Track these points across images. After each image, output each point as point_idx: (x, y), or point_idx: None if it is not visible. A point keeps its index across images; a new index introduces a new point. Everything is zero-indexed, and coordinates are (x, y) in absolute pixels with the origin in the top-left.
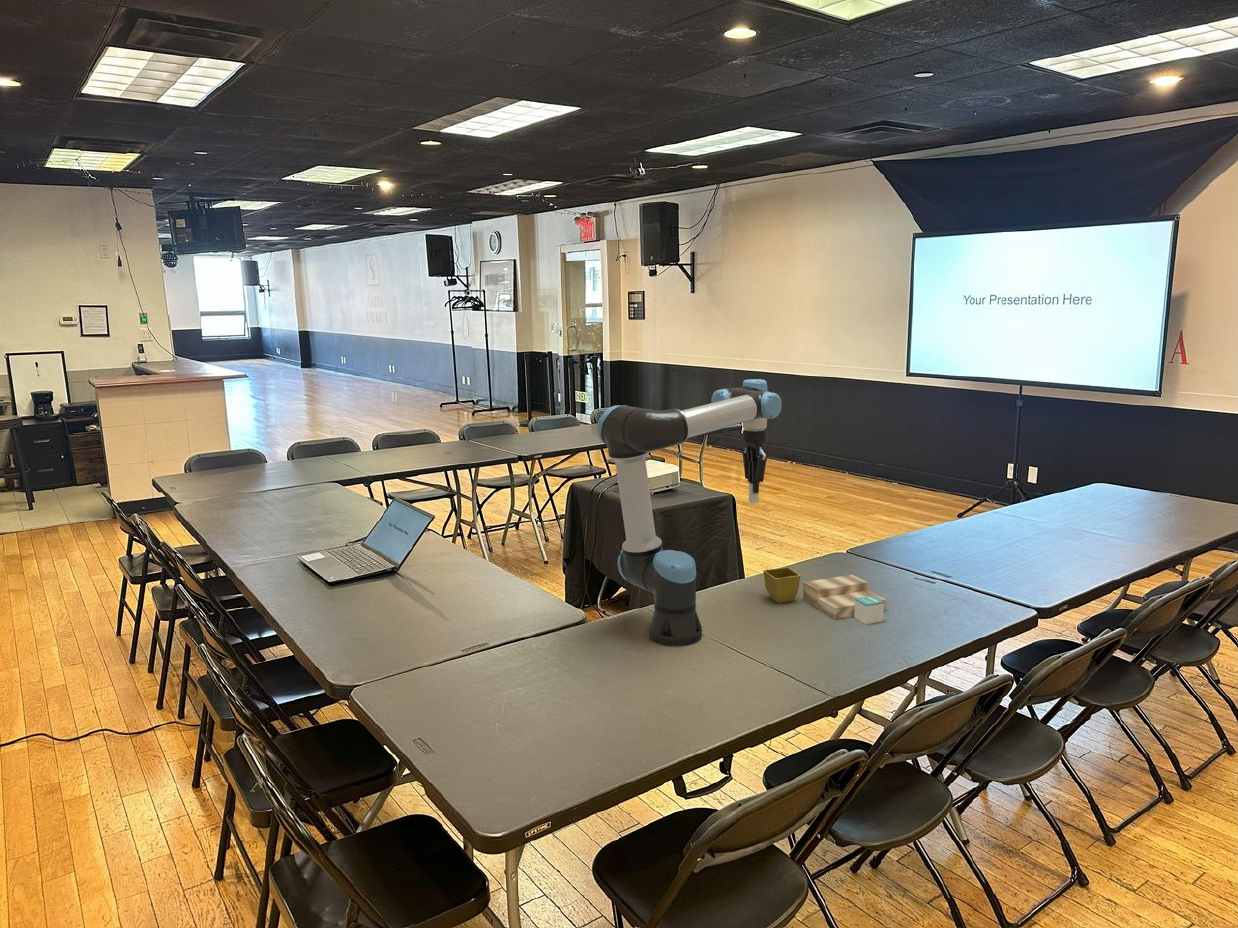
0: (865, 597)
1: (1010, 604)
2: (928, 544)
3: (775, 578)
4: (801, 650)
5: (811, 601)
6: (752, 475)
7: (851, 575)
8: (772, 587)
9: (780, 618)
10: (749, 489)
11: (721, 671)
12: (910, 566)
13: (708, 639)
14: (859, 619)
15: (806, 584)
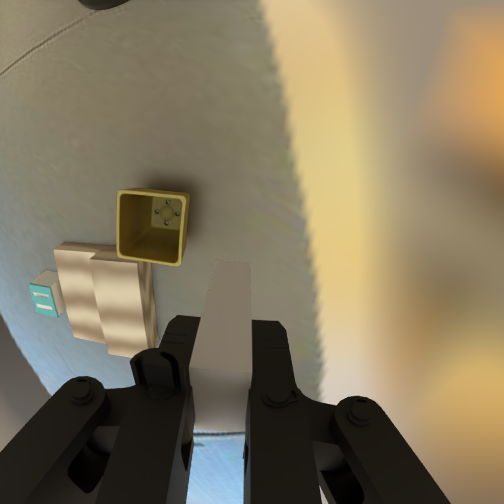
0: (51, 304)
1: None
2: None
3: (119, 191)
4: (5, 134)
5: None
6: (151, 461)
7: None
8: (146, 189)
9: (90, 158)
10: (242, 319)
11: (14, 22)
12: (229, 441)
13: (80, 16)
14: (55, 272)
15: (127, 261)
